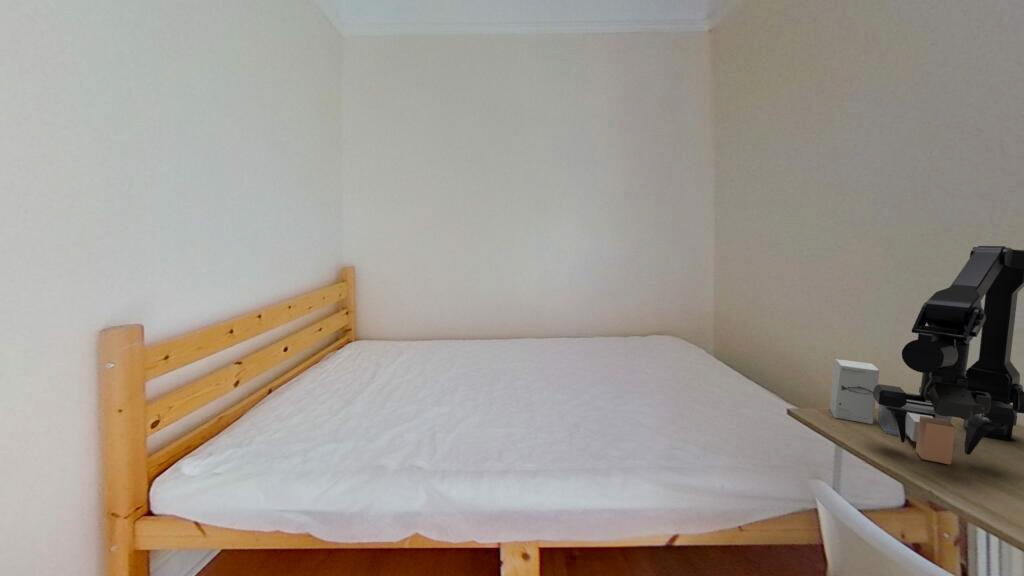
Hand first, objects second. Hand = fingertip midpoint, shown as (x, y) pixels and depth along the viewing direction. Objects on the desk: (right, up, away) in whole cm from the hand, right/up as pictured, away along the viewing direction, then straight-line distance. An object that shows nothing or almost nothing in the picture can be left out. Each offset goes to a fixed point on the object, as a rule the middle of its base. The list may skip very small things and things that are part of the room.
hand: (933, 447), depth 85 cm
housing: (+7, -1, +13) cm, 15 cm away
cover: (+2, -2, +4) cm, 5 cm away
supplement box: (0, 0, +21) cm, 21 cm away
